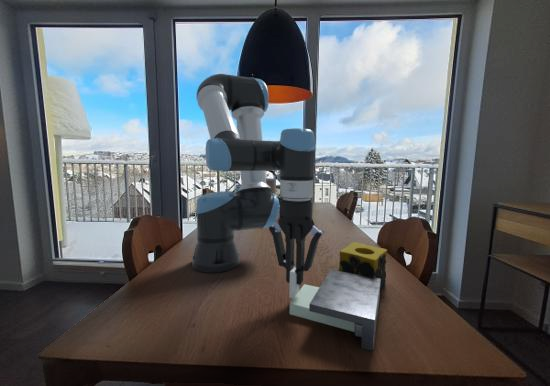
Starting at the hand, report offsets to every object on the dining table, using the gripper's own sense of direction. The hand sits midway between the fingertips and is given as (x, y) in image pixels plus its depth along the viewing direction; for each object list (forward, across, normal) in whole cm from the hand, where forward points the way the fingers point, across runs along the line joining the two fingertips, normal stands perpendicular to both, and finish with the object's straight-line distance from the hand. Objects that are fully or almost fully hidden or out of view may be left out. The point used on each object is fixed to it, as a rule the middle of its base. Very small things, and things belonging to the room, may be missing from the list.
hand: (294, 295), depth 62 cm
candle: (+2, +14, +17) cm, 22 cm away
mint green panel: (+2, +8, 0) cm, 8 cm away
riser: (+2, +13, 0) cm, 13 cm away
